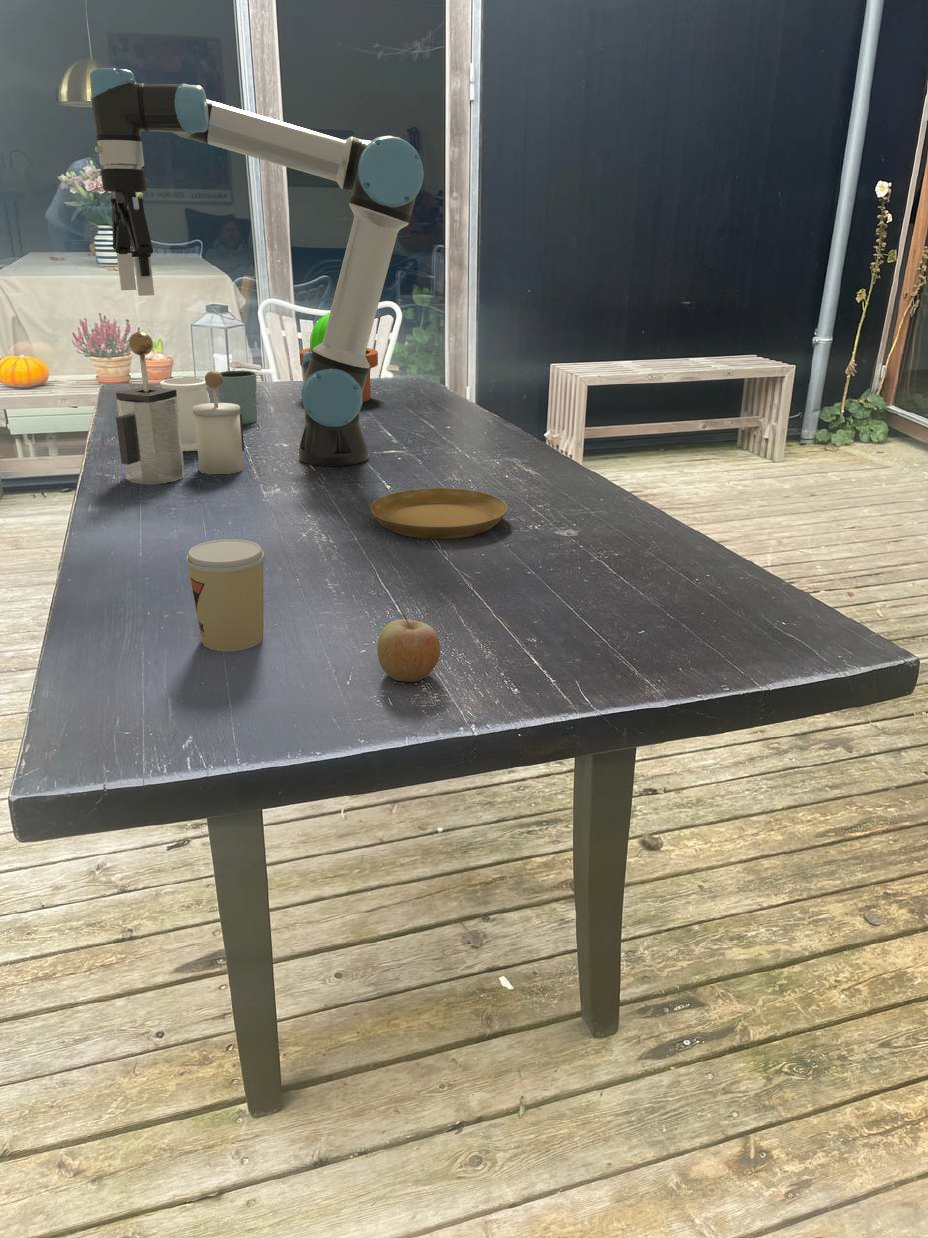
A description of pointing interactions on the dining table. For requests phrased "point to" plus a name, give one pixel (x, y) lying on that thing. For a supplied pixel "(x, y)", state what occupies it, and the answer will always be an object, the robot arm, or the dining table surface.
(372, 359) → the potted cactus
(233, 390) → the teal pot
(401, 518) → the plant saucer
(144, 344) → the plunger
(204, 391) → the jar
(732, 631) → the dining table surface
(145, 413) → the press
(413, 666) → the fruit
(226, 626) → the coffee cup
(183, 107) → the robot arm
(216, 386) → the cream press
